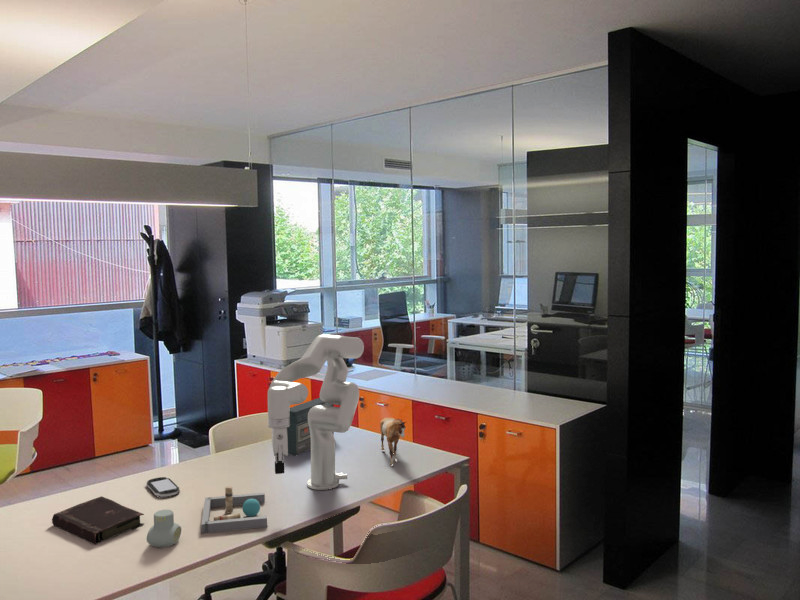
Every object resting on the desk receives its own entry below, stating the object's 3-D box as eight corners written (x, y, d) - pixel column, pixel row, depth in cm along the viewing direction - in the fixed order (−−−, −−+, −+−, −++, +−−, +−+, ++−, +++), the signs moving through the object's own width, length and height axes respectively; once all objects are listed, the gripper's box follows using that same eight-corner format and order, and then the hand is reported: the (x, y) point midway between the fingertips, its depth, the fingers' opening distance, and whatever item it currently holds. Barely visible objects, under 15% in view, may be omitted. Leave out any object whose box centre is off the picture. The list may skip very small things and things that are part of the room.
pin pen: (264, 500, 238) (264, 492, 238) (267, 526, 216) (267, 518, 216) (205, 505, 233) (205, 497, 233) (201, 533, 211) (201, 524, 211)
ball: (237, 506, 226) (251, 513, 228) (239, 515, 220) (254, 522, 223) (248, 492, 226) (262, 500, 228) (251, 501, 220) (264, 509, 223)
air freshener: (158, 535, 209) (157, 505, 209) (183, 535, 209) (182, 506, 208) (144, 551, 199) (143, 520, 198) (170, 552, 198) (169, 520, 197)
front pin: (240, 522, 220) (214, 526, 217) (239, 517, 222) (213, 521, 219) (240, 516, 219) (214, 520, 216) (239, 511, 221) (213, 515, 218)
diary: (94, 548, 202) (93, 532, 202) (52, 528, 216) (51, 514, 216) (146, 525, 218) (146, 511, 217) (104, 508, 232) (103, 495, 231)
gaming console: (144, 485, 254) (144, 479, 254) (167, 480, 259) (167, 474, 259) (158, 501, 238) (157, 494, 238) (182, 495, 244) (182, 489, 243)
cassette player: (296, 455, 289) (295, 412, 287) (283, 453, 292) (283, 410, 290) (333, 438, 314) (333, 398, 312) (322, 436, 317) (321, 396, 315)
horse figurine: (406, 469, 271) (406, 421, 270) (388, 470, 270) (388, 422, 268) (393, 446, 302) (393, 403, 300) (377, 447, 300) (377, 404, 299)
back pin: (232, 509, 230) (232, 486, 229) (232, 512, 228) (232, 488, 227) (225, 510, 229) (225, 486, 229) (225, 513, 227) (225, 489, 226)
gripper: (291, 427, 219) (292, 479, 221) (288, 415, 234) (288, 465, 235) (268, 428, 217) (269, 481, 219) (267, 416, 232) (267, 466, 233)
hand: (279, 472), depth 227 cm, fingers closed
